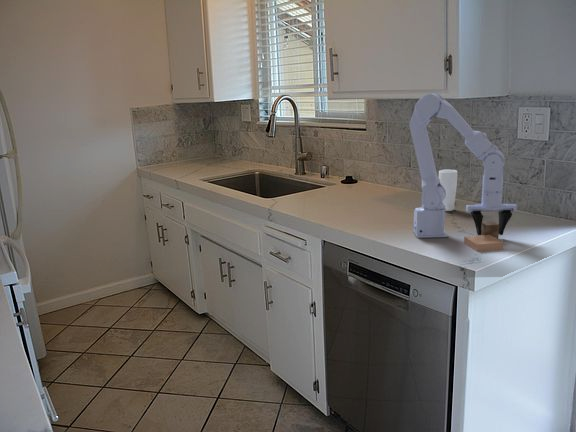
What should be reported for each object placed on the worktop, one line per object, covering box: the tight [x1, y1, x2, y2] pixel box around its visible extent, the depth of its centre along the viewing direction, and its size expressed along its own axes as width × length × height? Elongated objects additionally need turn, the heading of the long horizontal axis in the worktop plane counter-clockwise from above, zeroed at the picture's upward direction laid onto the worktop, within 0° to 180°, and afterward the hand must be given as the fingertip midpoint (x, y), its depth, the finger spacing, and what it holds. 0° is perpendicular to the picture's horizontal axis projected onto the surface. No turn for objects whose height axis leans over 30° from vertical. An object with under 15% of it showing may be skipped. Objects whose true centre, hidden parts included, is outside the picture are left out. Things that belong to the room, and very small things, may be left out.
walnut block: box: [481, 221, 500, 239], centre depth 158 cm, size 4×4×5 cm
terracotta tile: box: [463, 234, 504, 252], centre depth 152 cm, size 8×8×2 cm
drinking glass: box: [438, 168, 458, 212], centre depth 194 cm, size 7×7×15 cm
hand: (489, 234), depth 158 cm, fingers open, 6 cm apart
